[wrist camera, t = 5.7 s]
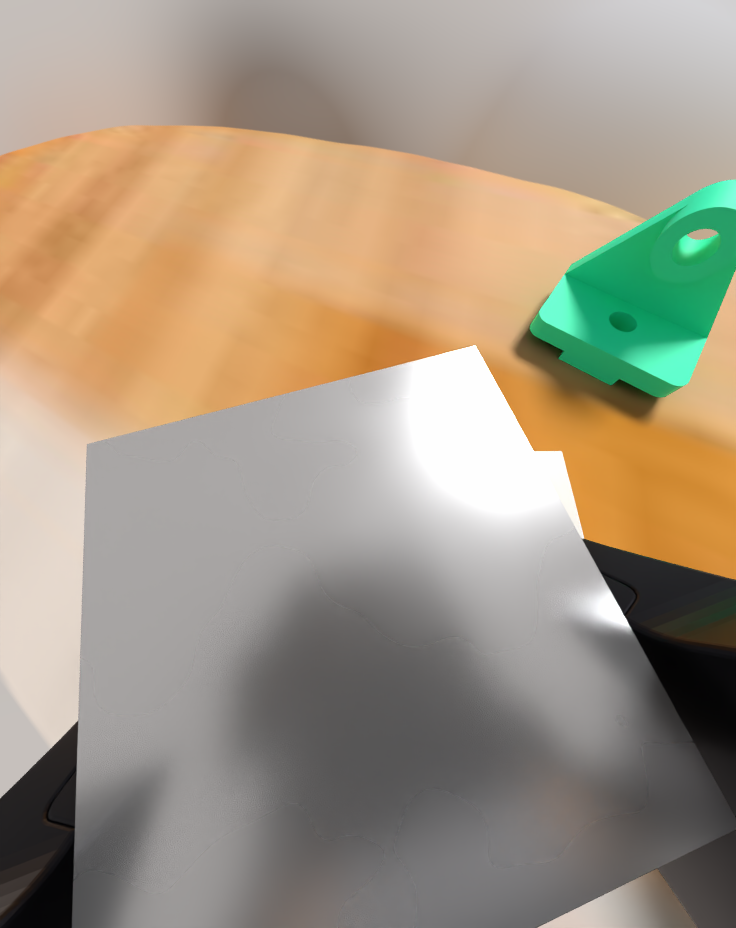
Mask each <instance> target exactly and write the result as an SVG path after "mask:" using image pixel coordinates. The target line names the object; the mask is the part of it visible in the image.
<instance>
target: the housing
mask: <svg viewBox="0 0 736 928" xmlns="http://www.w3.org/2000/svg"><path fill="white" fill-rule="evenodd" d="M734 830H736V818H735V816H734V814H733V812H732V810H731V809H730V807H729V805H728V803H727V801H726V800H725V798H724V796H723V794H722V792H721V790H720V789H719V787H718V785H717V783H716V781H715V780H714V778H713V776H712V774H711V772H710V771H709V769H708V767H707V765H706V763H705V761H704V760H703V758H702V756H701V754H700V752H699V751H698V749H697V747H696V745H695V743H694V742H693V740H692V738H691V736H690V734H689V732H688V731H687V729H686V727H685V725H684V723H683V722H682V720H681V718H680V716H679V714H678V713H677V711H676V709H675V707H674V705H673V703H672V702H671V700H670V698H669V696H668V694H667V693H666V691H665V689H664V687H663V685H662V683H661V682H660V680H659V678H658V676H657V674H656V673H655V671H654V669H653V667H652V665H651V664H650V662H649V660H648V658H647V656H646V654H645V653H644V651H643V649H642V647H641V645H640V644H639V642H638V640H637V638H636V636H635V635H634V633H633V631H632V629H631V627H630V625H629V624H628V622H627V620H626V618H625V616H624V615H623V613H622V611H621V609H620V607H619V606H618V604H617V602H616V600H615V598H614V596H613V595H612V593H611V591H610V589H609V587H608V586H607V584H606V582H605V580H604V578H603V577H602V575H601V573H600V571H599V569H598V567H597V566H596V564H595V562H594V560H593V558H592V557H591V555H590V553H589V551H588V549H587V547H586V546H585V544H584V542H583V540H582V538H581V537H580V535H579V533H578V531H577V529H576V528H575V526H574V524H573V522H572V520H571V518H570V517H569V515H568V513H567V511H566V509H565V508H564V506H563V504H562V502H561V500H560V499H559V497H558V495H557V493H556V491H555V489H554V488H553V486H552V484H551V482H550V480H549V479H548V477H547V475H546V473H545V471H544V470H543V468H542V466H541V464H540V462H539V460H538V459H537V457H536V455H535V453H534V451H533V450H532V448H531V446H530V444H529V442H528V441H527V439H526V437H525V435H524V433H523V431H522V430H521V428H520V426H519V424H518V422H517V421H516V419H515V417H514V415H513V413H512V411H511V410H510V408H509V406H508V404H507V402H506V401H505V399H504V397H503V395H502V393H501V392H500V390H499V388H498V386H497V384H496V382H495V381H494V379H493V377H492V375H491V373H490V372H489V370H488V368H487V366H486V364H485V363H484V361H483V359H482V357H481V355H480V353H479V352H478V350H477V348H476V346H472V347H468V348H464V349H460V350H456V351H452V352H448V353H445V354H441V355H437V356H433V357H429V358H425V359H421V360H417V361H413V362H409V363H405V364H401V365H397V366H393V367H389V368H385V369H381V370H378V371H374V372H370V373H366V374H362V375H358V376H354V377H350V378H346V379H342V380H338V381H334V382H330V383H326V384H322V385H318V386H314V387H311V388H307V389H303V390H299V391H295V392H291V393H287V394H283V395H279V396H275V397H271V398H267V399H263V400H259V401H255V402H251V403H247V404H244V405H240V406H236V407H232V408H228V409H224V410H220V411H216V412H212V413H208V414H204V415H200V416H196V417H192V418H188V419H184V420H181V421H177V422H173V423H169V424H165V425H161V426H157V427H153V428H149V429H145V430H141V431H137V432H133V433H129V434H125V435H121V436H117V437H114V438H110V439H106V440H102V441H98V442H94V443H90V444H87V459H86V491H85V523H84V555H83V587H82V619H81V651H80V683H79V714H78V746H77V778H76V810H75V842H74V874H73V906H72V928H537V927H539V926H541V925H543V924H545V923H547V922H549V921H551V920H553V919H555V918H557V917H559V916H561V915H563V914H565V913H568V912H570V911H572V910H574V909H576V908H578V907H580V906H582V905H584V904H586V903H588V902H590V901H592V900H594V899H596V898H598V897H600V896H602V895H604V894H606V893H608V892H610V891H612V890H614V889H616V888H618V887H620V886H622V885H624V884H626V883H628V882H630V881H632V880H634V879H636V878H638V877H640V876H642V875H645V874H647V873H649V872H651V871H653V870H655V869H657V868H659V867H661V866H663V865H665V864H667V863H669V862H671V861H673V860H675V859H677V858H679V857H681V856H683V855H685V854H687V853H689V852H691V851H693V850H695V849H697V848H699V847H701V846H703V845H705V844H707V843H709V842H711V841H713V840H715V839H717V838H719V837H721V836H724V835H726V834H728V833H730V832H732V831H734Z"/></svg>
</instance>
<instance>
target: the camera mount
mask: <svg viewBox="0 0 736 928" xmlns="http://www.w3.org/2000/svg"><path fill="white" fill-rule="evenodd" d="M699 229H713V230H715V231H717V232H718V234H717V235H715V236H713V237H710V238H707V239H704V240H694V239H691V238H689V237H688V236H687V234H689V233H690V232H693V231H696V230H699ZM735 270H736V180H726V181H721V182H718V183H715V184H712V185H710V186H707V187H705V188H703V189H701V190H699V191H697V192H695V193H694V194H692V195H690V196H688V197H687V198H685V199H683V200H682V201H680V202H678V203H677V204H675V205H673V206H671V207H670V208H668V209H666V210H664V211H663V212H661V213H659V214H657V215H656V216H654V217H652V218H651V219H649V220H647V221H645V222H644V223H642V224H640V225H638V226H637V227H635V228H633V229H632V230H630V231H628V232H626V233H625V234H623V235H621V236H620V237H618V238H616V239H614V240H613V241H611V242H609V243H607V244H606V245H604V246H602V247H601V248H599V249H597V250H595V251H594V252H592V253H590V254H589V255H587V256H585V257H583V258H582V259H580V260H578V261H576V262H575V263H573V264H572V265H571V266H570V267H569V269H568V270H567V272H566V273H565V275H564V276H563V277H562V279H561V280H560V282H559V283H558V285H557V286H556V288H555V289H554V290H553V292H552V293H551V295H550V296H549V298H548V299H547V300H546V302H545V303H544V305H543V306H542V308H541V309H540V311H539V312H538V314H537V315H536V317H535V318H534V320H533V321H532V323H531V324H530V331H531V333H532V334H533V335H534V336H536V337H537V338H539V339H541V340H543V341H545V342H547V343H549V344H551V345H553V346H555V347H557V348H559V349H561V350H563V352H562V353H561V355H560V357H559V358H558V359H560V360H562V361H564V362H566V363H568V364H570V365H572V366H573V367H575V368H577V369H579V370H581V371H583V372H585V373H587V374H589V375H591V376H593V377H595V378H597V379H599V380H601V381H603V382H605V383H607V384H609V385H612V384H614V383H615V382H616V381H618V380H619V379H621V380H623V381H625V382H627V383H628V384H630V385H632V386H634V387H636V388H638V389H640V390H642V391H644V392H646V393H648V394H650V395H652V396H655V397H666V396H667V395H669V394H671V393H673V392H674V391H676V390H678V389H679V388H681V387H683V386H684V385H686V384H687V383H688V382H689V381H690V378H691V376H692V373H693V371H694V368H695V366H696V364H697V361H698V359H699V356H700V354H701V352H702V349H703V347H704V344H705V342H706V340H707V337H708V335H709V332H710V330H711V328H712V325H713V323H714V320H715V318H716V316H717V313H718V311H719V308H720V306H721V303H722V301H723V299H724V296H725V294H726V291H727V289H728V287H729V284H730V282H731V279H732V277H733V275H734V272H735Z"/></svg>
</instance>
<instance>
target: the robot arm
mask: <svg viewBox="0 0 736 928" xmlns="http://www.w3.org/2000/svg"><path fill="white" fill-rule="evenodd" d="M582 540H583V542H584V544H585V546H586V547H587V549H588V551H589V553H590V555H591V557H592V558H593V560H594V562H595V564H596V566H597V567H598V569H599V571H600V573H601V575H602V577H603V578H604V580H605V582H606V584H607V586H608V587H609V589H610V591H611V593H612V595H613V596H614V598H615V600H616V602H617V604H618V606H619V607H620V609H621V611H622V613H623V615H624V616H625V618H626V620H627V622H628V624H629V625H630V627H631V629H632V631H633V633H634V635H635V636H636V638H637V640H638V642H639V644H640V645H641V647H642V649H643V651H644V653H645V654H646V656H647V658H648V660H649V662H650V664H651V665H652V667H653V669H654V671H655V673H656V674H657V676H658V678H659V680H660V682H661V683H662V685H663V687H664V689H665V691H666V693H667V694H668V696H669V698H670V700H671V702H672V703H673V705H674V707H675V709H676V711H677V713H678V714H679V716H680V718H681V720H682V722H683V723H684V725H685V727H686V729H687V731H688V732H689V734H690V736H691V738H692V740H693V742H694V743H695V745H696V747H697V749H698V751H699V752H700V754H701V756H702V758H703V760H704V761H705V763H706V765H707V767H708V769H709V771H710V772H711V774H712V776H713V778H714V780H715V781H716V783H717V785H718V787H719V789H720V790H721V792H722V794H723V796H724V798H725V800H726V801H727V803H728V805H729V807H730V809H731V810H732V812H733V814H734V816H735V818H736V580H734V579H730V578H726V577H722V576H718V575H714V574H711V573H707V572H703V571H699V570H695V569H691V568H688V567H684V566H680V565H676V564H672V563H668V562H665V561H661V560H657V559H653V558H649V557H646V556H642V555H638V554H634V553H631V552H627V551H623V550H620V549H616V548H613V547H609V546H606V545H602V544H599V543H596V542H593V541H589V540H586V539H583V538H582ZM77 746H78V721H77V722H76V723H75V724H74V725H73V726H72V728H71V729H70V730H69V731H68V732H67V733H66V734H65V735H64V736H63V737H62V738H61V739H60V740H59V741H58V742H57V743H56V744H55V745H54V746H53V747H52V748H51V749H50V750H49V751H48V752H47V753H46V754H45V755H44V756H43V757H42V758H41V759H40V760H39V761H38V762H37V763H36V764H35V765H34V766H33V767H32V768H31V769H30V770H29V771H28V772H27V773H26V774H25V775H24V776H23V777H22V778H21V779H20V780H19V781H18V782H17V783H16V784H15V785H14V786H13V787H12V788H11V789H10V790H9V791H8V792H7V793H5V794H4V795H3V796H2V797H1V798H0V928H72V906H73V874H74V842H75V810H76V778H77ZM657 869H658V870H659V872H660V873H661V875H662V876H663V878H664V879H665V881H666V882H667V883H668V885H669V886H670V888H671V889H672V891H673V892H674V894H675V895H676V897H677V898H678V900H679V901H680V903H681V904H682V905H683V907H684V908H685V910H686V911H687V913H688V914H689V916H690V917H691V919H692V920H693V922H694V923H695V925H696V926H697V928H736V830H734V831H732V832H730V833H728V834H726V835H724V836H721V837H719V838H717V839H715V840H713V841H711V842H709V843H707V844H705V845H703V846H701V847H699V848H697V849H695V850H693V851H691V852H689V853H687V854H685V855H683V856H681V857H679V858H677V859H675V860H673V861H671V862H669V863H667V864H665V865H663V866H661V867H659V868H657Z"/></svg>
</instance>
